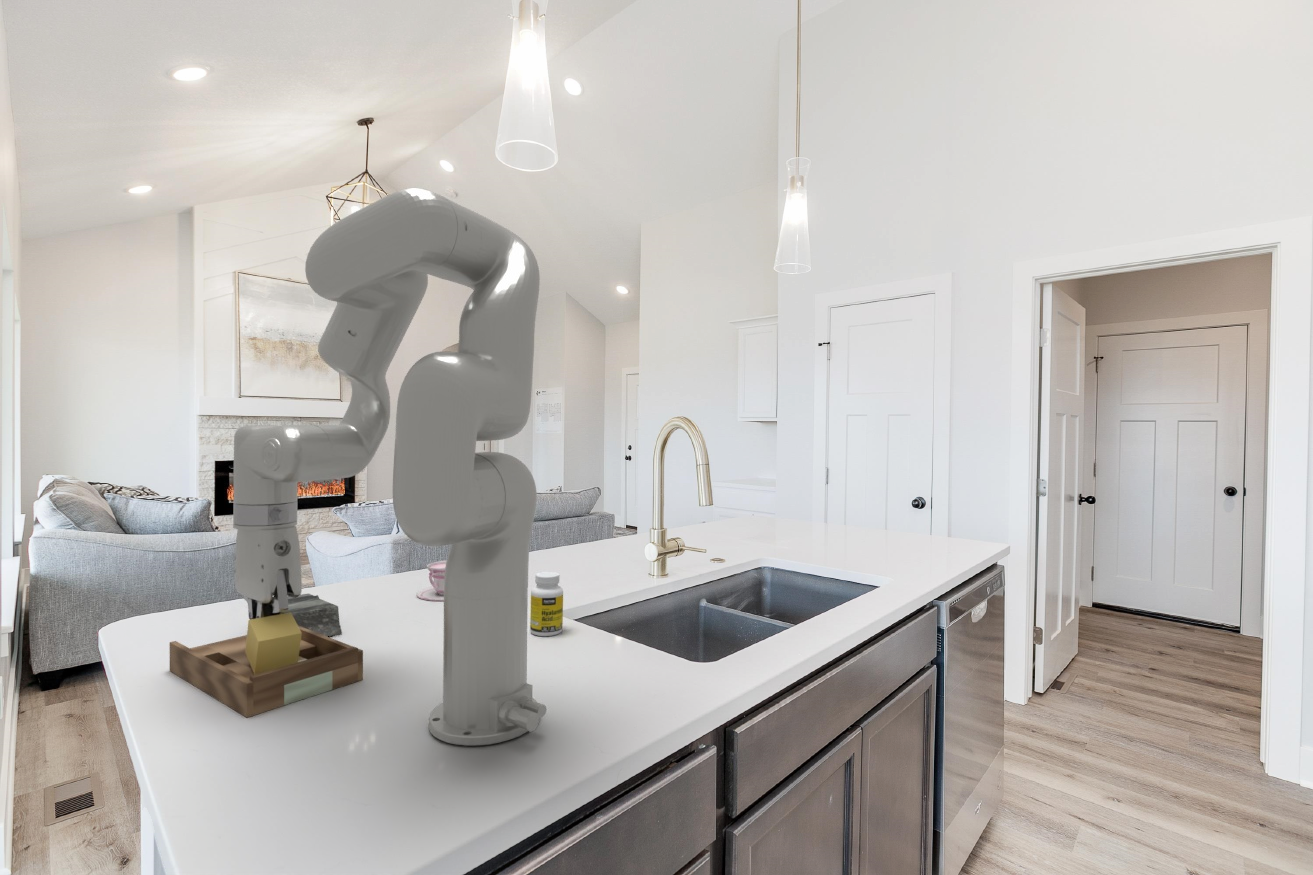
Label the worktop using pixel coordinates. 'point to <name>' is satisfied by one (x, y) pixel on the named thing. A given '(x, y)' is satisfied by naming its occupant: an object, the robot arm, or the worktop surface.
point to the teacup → (438, 585)
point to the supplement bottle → (546, 605)
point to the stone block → (315, 614)
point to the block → (272, 642)
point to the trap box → (266, 672)
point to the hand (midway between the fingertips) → (264, 648)
